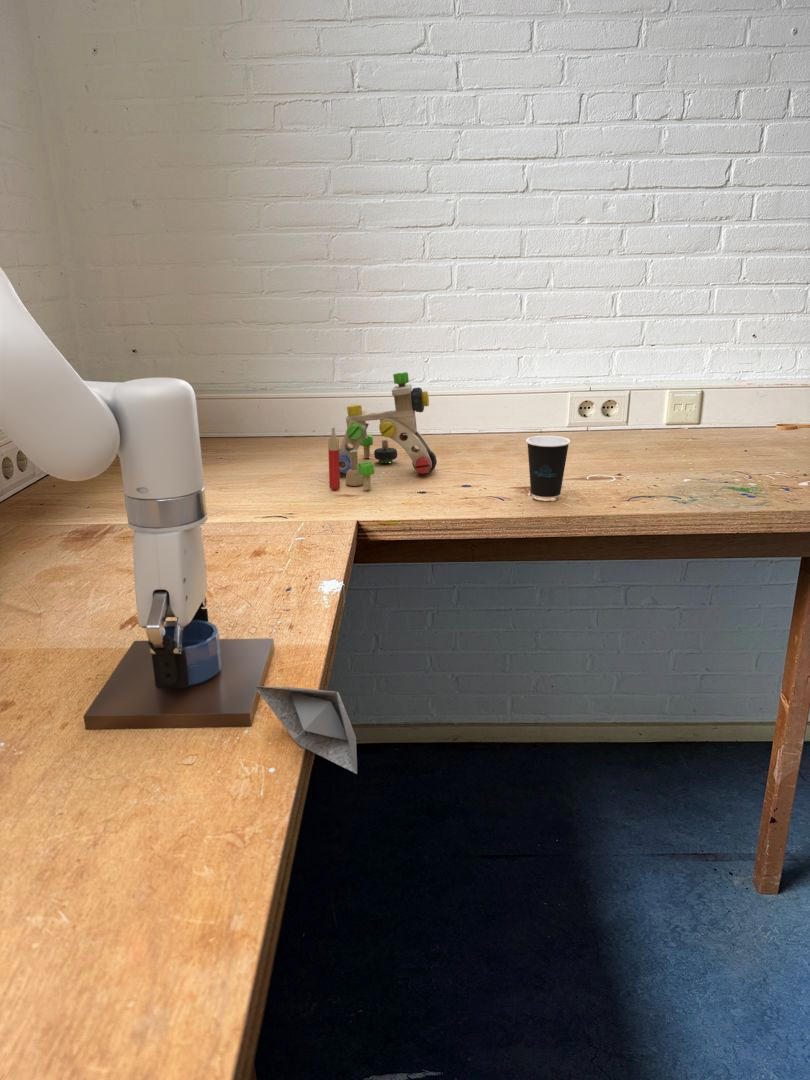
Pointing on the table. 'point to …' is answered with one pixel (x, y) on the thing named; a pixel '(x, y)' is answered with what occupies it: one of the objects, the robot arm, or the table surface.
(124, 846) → the table surface
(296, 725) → the paper boat
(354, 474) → the toy construction set
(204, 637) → the bowl
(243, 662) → the board
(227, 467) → the table surface
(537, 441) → the dixie cup
